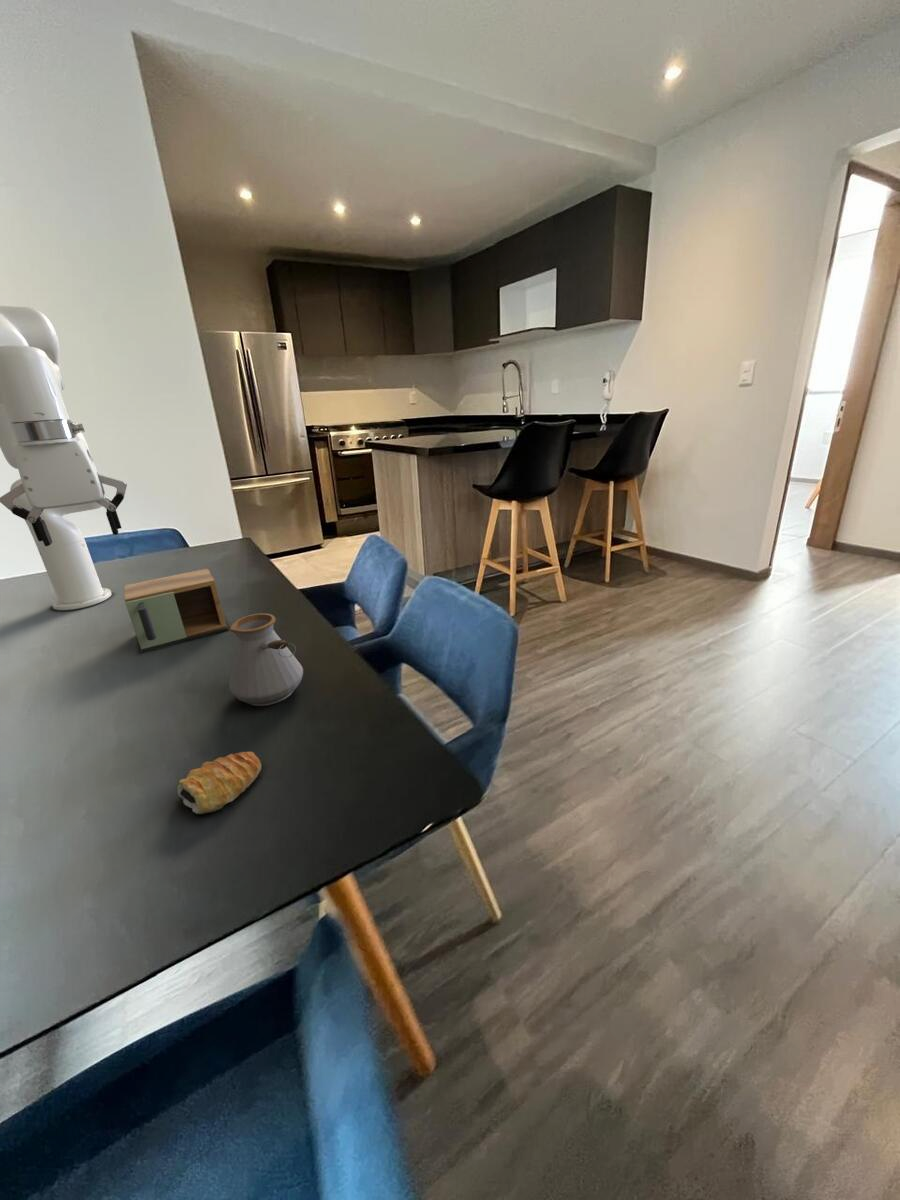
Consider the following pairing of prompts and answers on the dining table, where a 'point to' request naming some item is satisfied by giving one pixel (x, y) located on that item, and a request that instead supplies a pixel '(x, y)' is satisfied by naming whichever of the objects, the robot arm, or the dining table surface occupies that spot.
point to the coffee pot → (262, 663)
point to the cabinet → (186, 602)
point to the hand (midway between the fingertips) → (83, 538)
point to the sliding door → (156, 620)
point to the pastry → (218, 781)
